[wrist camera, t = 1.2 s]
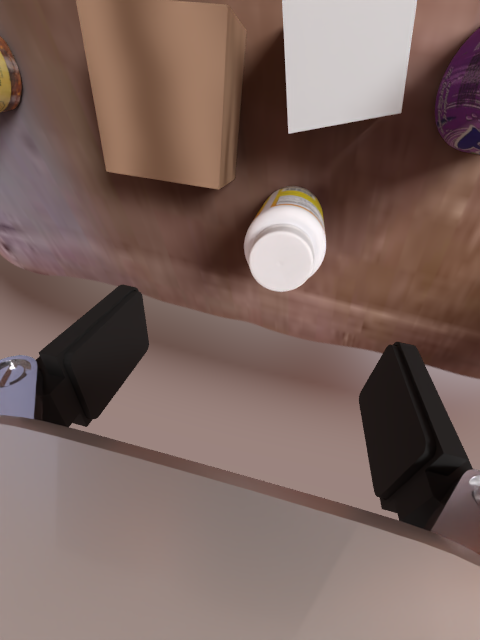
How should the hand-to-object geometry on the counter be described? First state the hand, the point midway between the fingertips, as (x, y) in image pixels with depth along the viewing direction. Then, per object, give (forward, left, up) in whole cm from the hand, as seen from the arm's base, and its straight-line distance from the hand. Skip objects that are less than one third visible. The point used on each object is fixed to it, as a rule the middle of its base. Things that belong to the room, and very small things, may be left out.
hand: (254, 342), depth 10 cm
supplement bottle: (0, 0, -18) cm, 18 cm away
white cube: (-1, -10, -18) cm, 21 cm away
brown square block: (+10, -7, -18) cm, 21 cm away
